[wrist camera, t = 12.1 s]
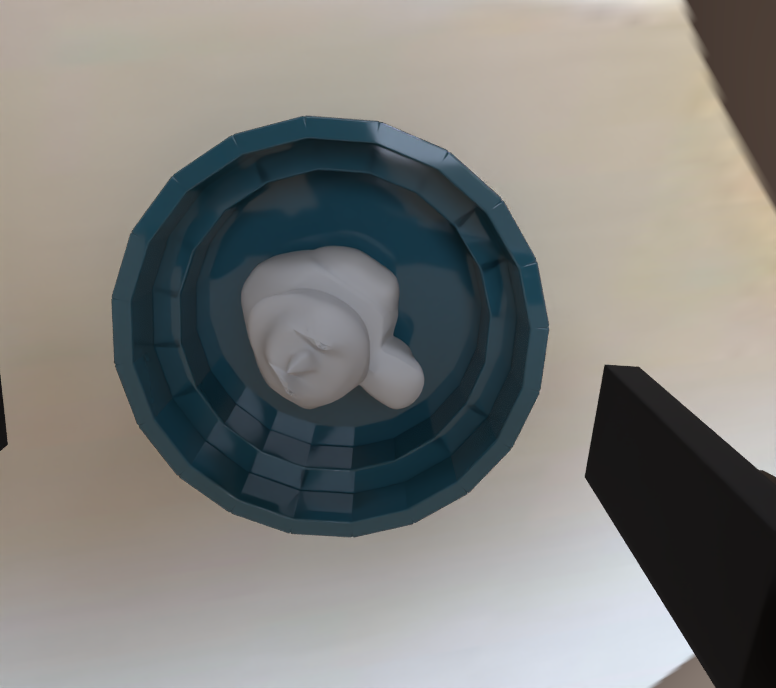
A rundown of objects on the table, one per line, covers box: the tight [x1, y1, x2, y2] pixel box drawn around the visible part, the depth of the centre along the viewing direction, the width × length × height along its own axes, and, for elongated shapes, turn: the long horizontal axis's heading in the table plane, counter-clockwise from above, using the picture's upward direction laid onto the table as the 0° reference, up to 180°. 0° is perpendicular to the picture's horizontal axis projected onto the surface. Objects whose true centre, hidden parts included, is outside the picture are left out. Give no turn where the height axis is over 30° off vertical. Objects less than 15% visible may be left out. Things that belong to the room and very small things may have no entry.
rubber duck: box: [241, 246, 424, 409], centre depth 20 cm, size 5×7×8 cm
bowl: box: [112, 116, 549, 537], centre depth 22 cm, size 13×13×4 cm
